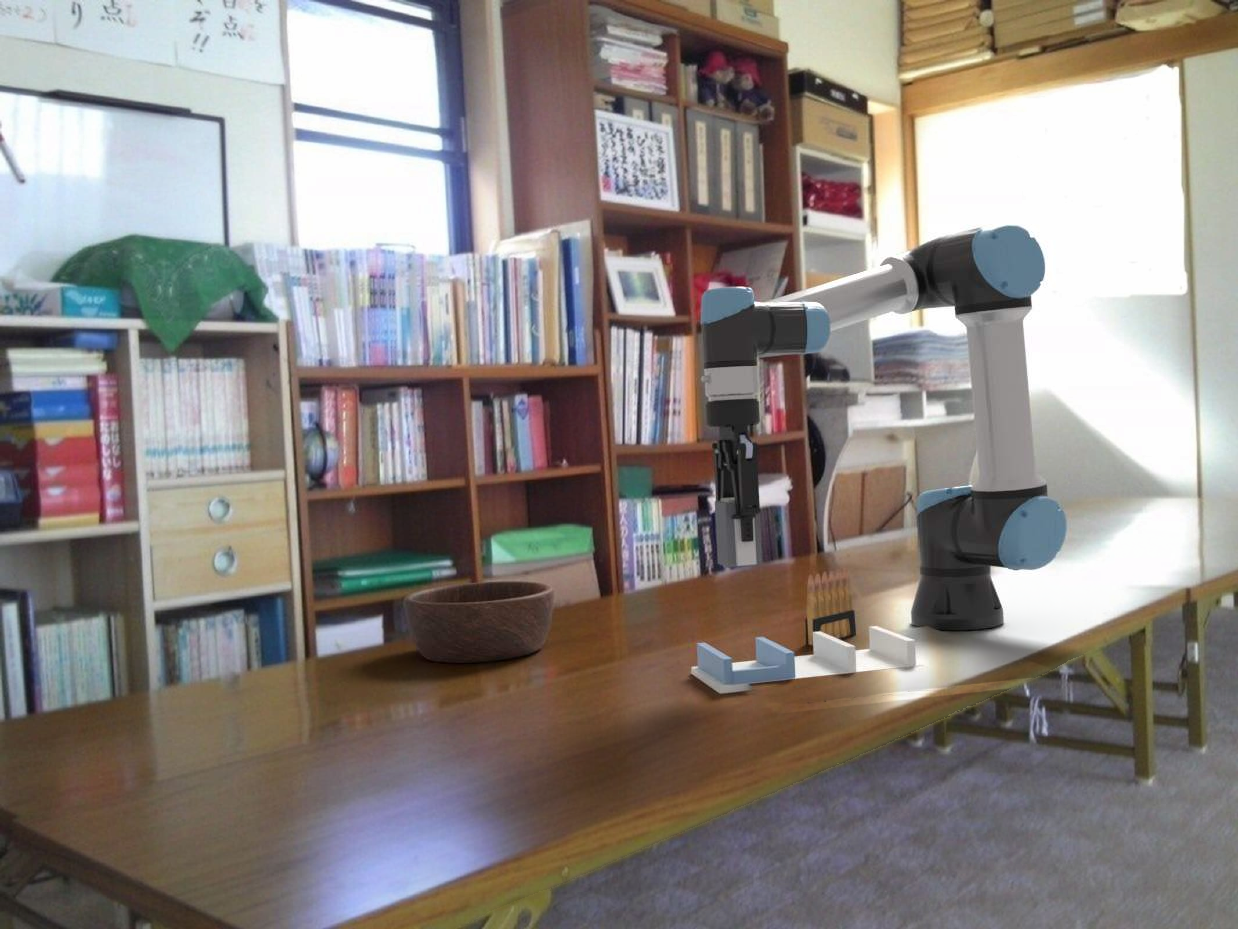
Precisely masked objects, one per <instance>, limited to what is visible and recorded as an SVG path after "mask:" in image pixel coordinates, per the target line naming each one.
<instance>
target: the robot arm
mask: <svg viewBox="0 0 1238 929" xmlns="http://www.w3.org/2000/svg"><path fill="white" fill-rule="evenodd" d="M1045 273H1046V262H1045V256H1044V252H1043V250H1042V247H1041V244H1040V243H1039V242H1038V241H1037V239H1036V238H1035V237H1034V235H1031V234H1030V233H1029V231H1028V230H1027V229H1025V228H1024V227H1022V226H1021V225H1017V224H1015V223H999V224H988V225H983V226H980V227H977V228H973V229H970V230H969V229H968V230H963V231H960V232H957V233H952V234H946V235H943V236H939V237H937V238H934V239H932V240H930V241H926V242H925V243H922V244H919V245H918V246H916V247H913V248H911V249H909V250H906V251H903V252H901V253H898V254H895V255H892V256H889V257H886V258H885V259H884V260H883V261H882V262H881V263H880V265H879V266H877V267H875V268H871V269H868V270H864V271H861V272H859V273H854V274H852V275H848V276H845V277H842V278H839V279H835V280H833V281H829V282H826V283H822V284H820V285H816V286H812V287H809V288H805V289H803V290H799V291H795V292H792V293H789V294H787V295H782V296H780V297H777V298H774V299H770V300H766V301H764V302H762V301H756V298H755V294H754V291H753V289H752V288H751V287H748V286H726V287H724V286H723V287H716V288H711V289H707V290H706V291H704V292H703V294H701V305H700V324H701V337H702V338H701V339H702V353H703V354H702V355H703V356H702V357H703V358H702V359H703V368H704V369H703V371H704V375H702V376H701V378H700V381H701V383H704V389H705V390H704V392H705V396H706V397H707V398H709V401H707V402H706V403H705V417H706V418H705V420H706V425H707V427H709V428H719V430H718V440H717V441H714V442H712V445H711V448H712V455H713V461H714V462H713V465H714V468H713V469H714V485H715V486H714V487H715V501H721V498H731V497H734V499H735V507H736V514H734V515H732V519H734V526H735V547H736V565H737V566H742V567H744V566H743V565H754V566H756V565H755V564H757V563H756V543H755V522H754V518H755V517H756V514H759V513H760V514H761V507H760V506H761V505H760V504H761V503H760V487H759V485H760V484H759V470H758V468H759V467H758V466H759V465H758V456H759V455H758V454H759V444H758V442H752V439H751V437H750V433H749V426H756V425H758V424H760V422H761V417H760V416H761V414H760V401H759V400H758V399H757V398H756V395H758V394H759V393H760V386H759V385H760V384H759V369H758V358H767V357H775V356H776V357H777V356H787V355H803V356H805V355H806V354H814V353H815V354H816V353H819V352H821V351H822V350H823V349H824V348H825V347H826V345H827V344H828V343H829V340H830V335H831V332H833V331H835V330H840V329H842V328H845V327H849V326H852V325H854V324H858V323H861V322H863V321H866V320H870V319H873V318H877V317H879V316H883V315H886V314H888V313H891V312H893V313H895V314H898V315H906V314H908V313H911V312H916V311H920V310H926V309H936V308H949V307H952V308H953V307H954V314H955V318H956V319H957V320H958V321H959V322H961V323H962V324H963V325H964V326H965V329H966V338H967V349H968V359H969V360H968V362H969V373H970V374H969V375H970V384H971V395H972V397H971V398H972V407H973V418H974V420H973V421H974V428H975V440H976V441H975V442H976V453H977V462H978V463H977V466H978V474H979V475H978V477H977V479H976V480H975V481H974V482H973V483H972V485H963V486H955V487H948V488H939V489H933V490H931V489H930V490H927V491H923V492H921V493H920V494H918V495H919V496H918V497H917V500H916V503H917V505H916V506H917V508H916V513H915V514H916V515H915V516H916V527H917V528H916V530H917V542H918V544H917V546H918V548H917V549H918V563H919V582H918V585H917V589H916V593H915V595H914V598H913V603H912V605H911V606H912V607H911V610H910V618H911V625H913V626H914V627H918V628H925V627H927V628H930V629H933V630H941V631H971V630H982V629H983V630H984V629H991V628H995V627H999V626H1001V625H1003V624H1004V618H1005V616H1004V608H1003V606H1002V603H1001V600H1000V597H999V594H998V592H997V589H996V587H995V584H994V582H993V579H992V573H991V570H992V569H991V568H992V567H995V568H996V567H997V568H1004V569H1005V568H1006V569H1008V570H1013V571H1020V570H1022V571H1023V570H1024V571H1025V570H1027V571H1035V570H1038V569H1041V568H1043V567H1046V566H1047V565H1049V564H1051V562H1052V561H1053V560H1054V559H1055V558H1056V557H1057V554H1058V553H1059V552H1060V551H1061V549H1062V547H1063V545H1064V542H1065V539H1066V536H1067V528H1068V526H1067V524H1068V523H1067V516H1066V513H1065V511H1064V509H1063V507H1061V506H1060V504H1059V502H1057V500H1055V499H1053V498H1052V497H1050V496H1049V493H1048V483H1047V480H1045V479H1044V478H1043V477H1042V476H1041V475H1039V474H1038V473H1037V471H1036V460H1035V459H1036V458H1035V450H1034V449H1035V448H1034V439H1033V438H1034V437H1033V427H1032V426H1033V425H1032V424H1033V423H1032V414H1031V401H1030V391H1029V390H1030V388H1029V379H1028V378H1029V377H1028V367H1027V365H1028V364H1027V353H1026V352H1027V351H1026V341H1025V329H1024V320H1025V318H1026V317H1027V315H1029V313H1030V311H1031V310H1033V305H1032V304H1033V303H1032V295H1033V294H1034V293H1036V291H1038V290H1039V289H1040V287H1041V286H1042V285H1041V284H1042V283H1041V282H1043V281H1044V279H1045Z"/></svg>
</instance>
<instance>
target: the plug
mask: <svg viewBox="0 0 1238 929" xmlns="http://www.w3.org/2000/svg"><path fill="white" fill-rule="evenodd" d="M714 511H715V512H714V515H715V534H716V535H715V536H716V554H717V565H720V566H722V567H723V566H724V567H726V568H730V569H731V568H741V567H750V566H751V567H752V566H753V567H754V566H762V565H763V564H764V563H763V548H762V527H761V523H762V521H761V512H760V513H759V514H756V517H755V518H754V522H755V543H756V563H757V564H755V565H743V566H737V565H736V547H735V526H734V519H732V515H734V514H736V507H735V499H734V497H731V498H721V501H716V500H714Z"/></svg>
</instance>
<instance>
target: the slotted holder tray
mask: <svg viewBox="0 0 1238 929" xmlns="http://www.w3.org/2000/svg"><path fill="white" fill-rule="evenodd" d="M868 638H869V640H868V641H869V648H866V649H865V648H864V649H858V650H857V649H856V645H853V644H851V643H849V642H846V641H844V640H842V639H837V638H835V637H832V636H830V635H828V634H825V633H823V632H821V631H819V632H813V645H812V647H813V648H812V649H813V654H807V655H797V656H795V652H794V651H793V650H790V649H788V648H787V647H784V646H783V645H781V644H779V643H776V642H774V641H772V640H770V639H768V638H766V637H764V636H759V637H755V656H756V658H755V659H756V660H748V661H738V662H737V661H736V662H733V658H732V657H730V656H728V655H726V654H725V653H723V652H721V651H719V650H718V649H716V648H715V647H713V646H711V645H710V644H708V643H706V642H696V654H697V666H691V668H690V670H691V671H690V672H691V675H693V676H694V677H695V678H696V679H699V681H701V682H703V683H704V684H705V685H707V686H708V687H710V688H712V689H713V690H714V691H715V692H717V693H718V694H729V693H738V692H748V691H750V692H751V691H756V690H757V689H756V687H753V686H752V685H751V684H758V683H767V682H769V683H770V682H777V681H778V682H779V681H787V680H795V679H796V680H797V679H806V678H813V677H814V678H816V677H825V676H833V675H836V676H837V675H843V674H854V673H862V672H864V673H865V672H873V671H882V670H892V669H902V668H909V667H910V668H911V667H919V666H923V664H922V663H920V662H918V661H917V659H916V658H917V655H916V654H917V653H916V639H913V638H910V637H908V636H904V635H902V634H899V633H896V632H894V631H891V630H888V629H886V628H883V627H880V626H877V625H873V626H868Z"/></svg>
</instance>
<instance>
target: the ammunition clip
mask: <svg viewBox="0 0 1238 929" xmlns="http://www.w3.org/2000/svg"><path fill="white" fill-rule="evenodd" d="M850 584H851V582H850V574H849V572H848V569H847V568H846V567H844V568H843V571H842V573H841V570H840V568H837V569H836V572H835V573H834V572H833V570H832V569H831V570H830V571H829V574H828V575H827V573H826V571H823V573H822V576H820V574H819V573H818V572H817V573H816V574H815V578H813V575H812V574H811V573H810V574H809V575H808V580H807V586H806V587H807V589H806V590H807V593H806V597H807V598H806V618H805V620H804V621H805V622H804V623H805V626H804V628H805V645H806V646H809V645H810V646H813V632H819V631H821V632H823V633H825V634H828V635H830V636H832V637H835V638H837V639H839V640H842V639H847V638H849V637H853V636H857V628H856V627H857V626H856V617H855V616H856V614H855V609H853V597H852V596H853V595H852V591H851V585H850Z"/></svg>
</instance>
